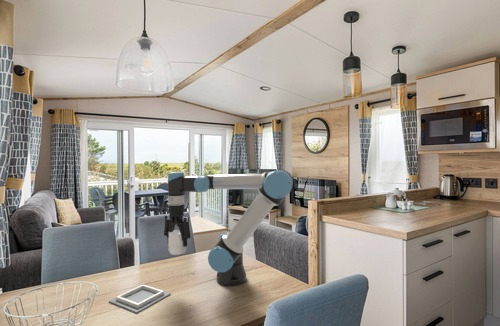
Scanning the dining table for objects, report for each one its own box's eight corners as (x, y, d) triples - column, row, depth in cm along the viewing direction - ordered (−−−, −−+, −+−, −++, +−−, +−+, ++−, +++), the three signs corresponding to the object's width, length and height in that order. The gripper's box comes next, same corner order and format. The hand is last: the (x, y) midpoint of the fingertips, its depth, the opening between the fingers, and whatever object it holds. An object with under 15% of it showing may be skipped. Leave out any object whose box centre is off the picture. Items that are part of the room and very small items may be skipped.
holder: (170, 294, 127) (170, 290, 127) (136, 313, 111) (136, 308, 111) (143, 286, 136) (143, 281, 136) (108, 302, 120) (108, 297, 120)
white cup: (170, 256, 129) (170, 234, 129) (167, 251, 136) (166, 231, 136) (187, 253, 132) (187, 232, 132) (183, 249, 139) (183, 229, 139)
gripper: (155, 204, 136) (156, 251, 136) (187, 206, 126) (188, 257, 126) (167, 201, 142) (167, 246, 142) (198, 204, 132) (198, 252, 132)
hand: (177, 251), depth 134 cm, fingers closed on white cup, 7 cm apart
